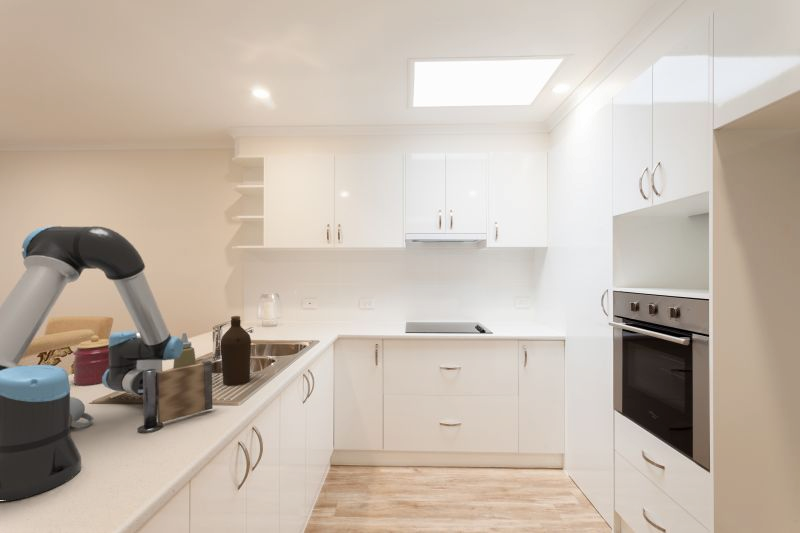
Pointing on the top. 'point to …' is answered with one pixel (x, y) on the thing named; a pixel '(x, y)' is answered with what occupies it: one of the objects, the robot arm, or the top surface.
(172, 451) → the top surface
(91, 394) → the top surface
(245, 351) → the olive oil
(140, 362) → the jar
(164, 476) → the top surface
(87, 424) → the ceramic mug
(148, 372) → the gate post
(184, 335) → the squeeze bottle
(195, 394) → the gate
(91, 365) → the canister
